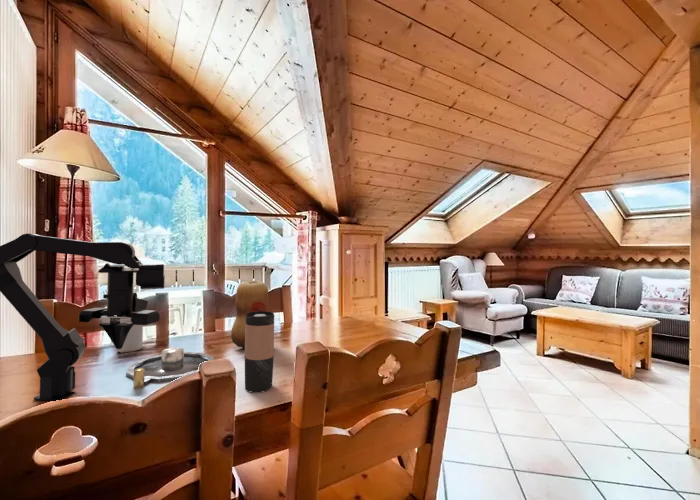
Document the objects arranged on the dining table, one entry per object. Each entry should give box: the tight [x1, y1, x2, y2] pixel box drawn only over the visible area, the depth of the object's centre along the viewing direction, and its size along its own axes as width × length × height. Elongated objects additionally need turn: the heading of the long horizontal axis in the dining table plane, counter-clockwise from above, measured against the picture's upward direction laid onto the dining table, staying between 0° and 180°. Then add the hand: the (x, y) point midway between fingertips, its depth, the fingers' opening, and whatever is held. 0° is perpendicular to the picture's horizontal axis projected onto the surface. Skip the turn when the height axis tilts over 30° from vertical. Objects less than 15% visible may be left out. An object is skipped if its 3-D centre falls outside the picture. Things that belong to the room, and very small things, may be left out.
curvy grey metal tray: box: [125, 351, 215, 390], centre depth 104 cm, size 28×23×5 cm
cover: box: [161, 347, 185, 370], centre depth 106 cm, size 6×6×5 cm
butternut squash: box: [230, 279, 269, 349], centre depth 130 cm, size 14×13×25 cm
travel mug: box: [244, 310, 275, 393], centre depth 95 cm, size 8×8×20 cm
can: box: [117, 325, 144, 354], centre depth 123 cm, size 8×8×12 cm
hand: (119, 348), depth 92 cm, fingers closed
